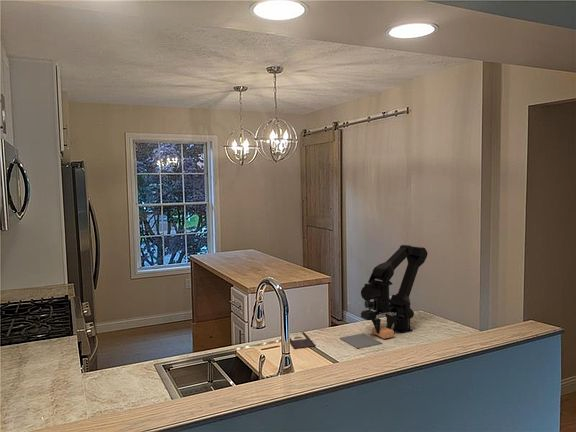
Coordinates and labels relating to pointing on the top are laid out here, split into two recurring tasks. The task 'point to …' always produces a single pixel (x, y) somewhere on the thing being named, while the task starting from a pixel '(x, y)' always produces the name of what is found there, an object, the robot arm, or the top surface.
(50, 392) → the top surface
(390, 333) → the tile
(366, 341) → the mat
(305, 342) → the chocolate bar
